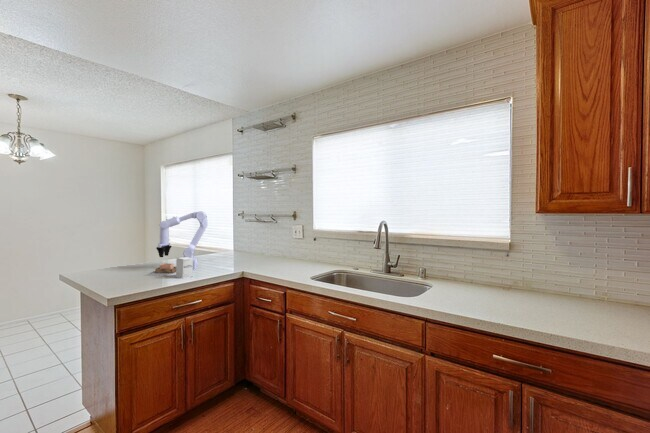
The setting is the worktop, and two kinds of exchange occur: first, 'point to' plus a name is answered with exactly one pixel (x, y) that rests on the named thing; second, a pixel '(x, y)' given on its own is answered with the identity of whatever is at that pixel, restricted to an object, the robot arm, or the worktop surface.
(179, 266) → the supplement box
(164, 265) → the terracotta crate
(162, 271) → the walnut crate
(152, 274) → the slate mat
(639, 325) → the worktop surface
